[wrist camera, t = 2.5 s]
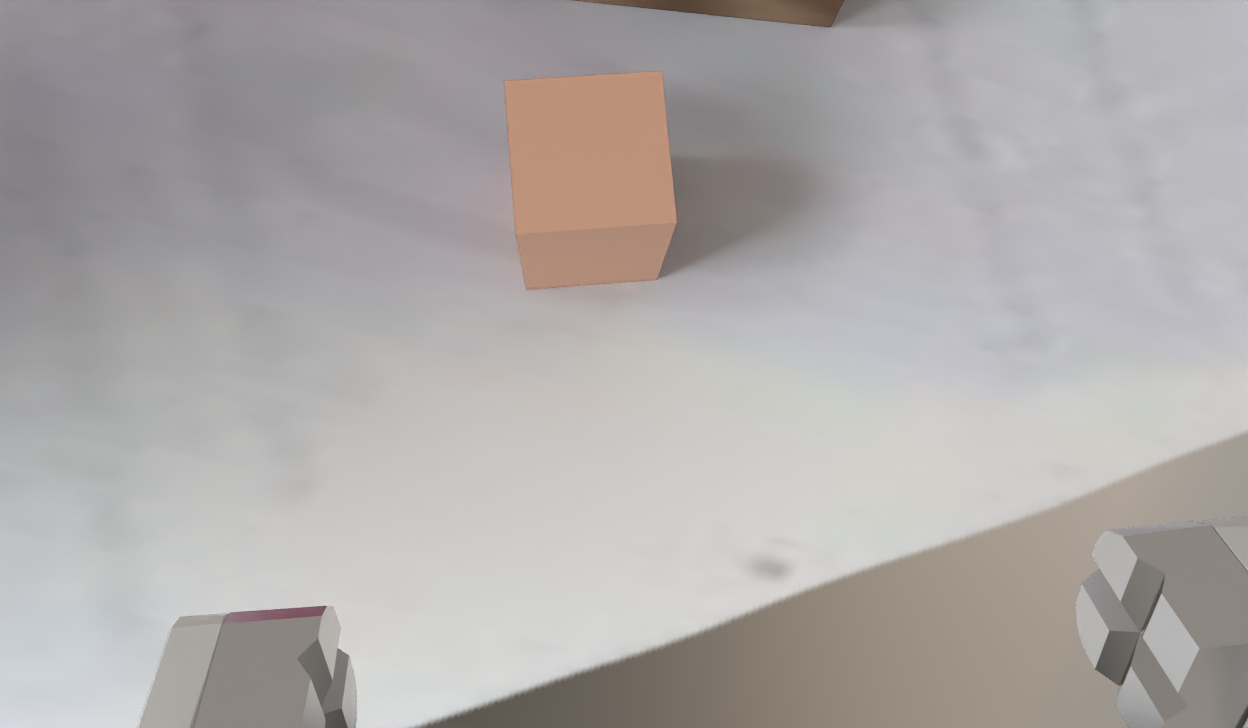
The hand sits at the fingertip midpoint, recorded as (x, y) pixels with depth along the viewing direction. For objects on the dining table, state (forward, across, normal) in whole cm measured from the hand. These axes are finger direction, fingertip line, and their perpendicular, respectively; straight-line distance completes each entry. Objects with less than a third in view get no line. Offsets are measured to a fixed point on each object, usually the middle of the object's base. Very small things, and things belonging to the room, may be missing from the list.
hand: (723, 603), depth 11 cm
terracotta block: (+28, 0, +10) cm, 30 cm away
